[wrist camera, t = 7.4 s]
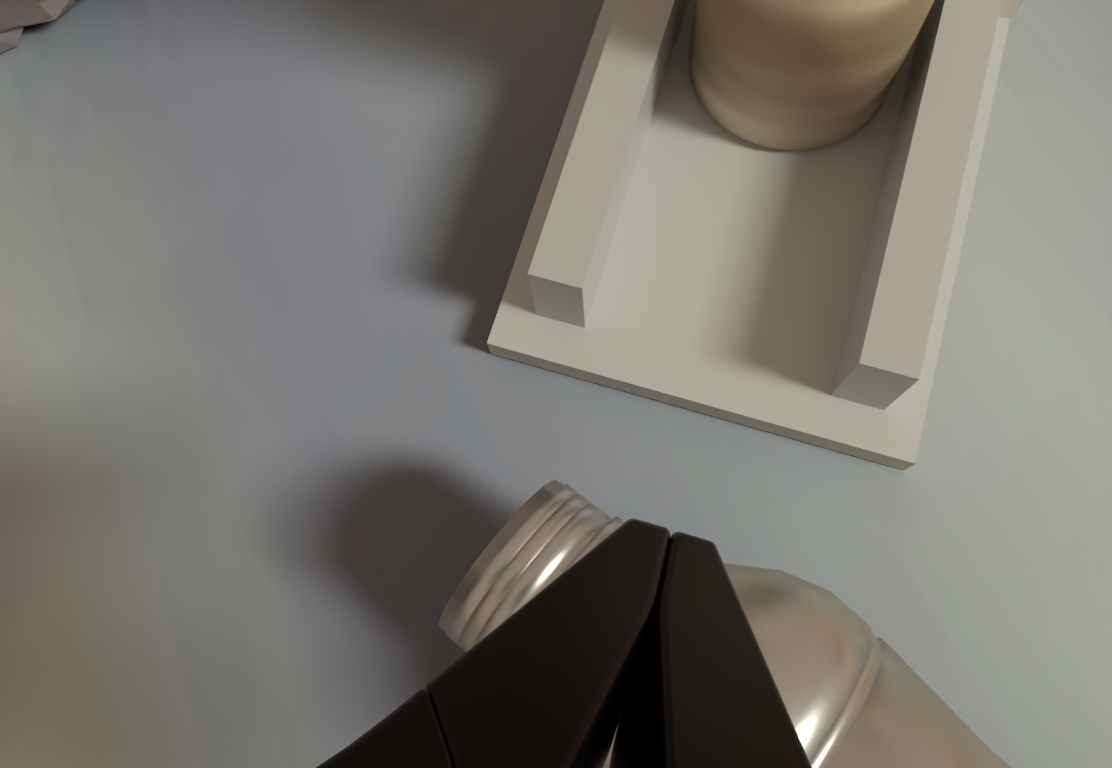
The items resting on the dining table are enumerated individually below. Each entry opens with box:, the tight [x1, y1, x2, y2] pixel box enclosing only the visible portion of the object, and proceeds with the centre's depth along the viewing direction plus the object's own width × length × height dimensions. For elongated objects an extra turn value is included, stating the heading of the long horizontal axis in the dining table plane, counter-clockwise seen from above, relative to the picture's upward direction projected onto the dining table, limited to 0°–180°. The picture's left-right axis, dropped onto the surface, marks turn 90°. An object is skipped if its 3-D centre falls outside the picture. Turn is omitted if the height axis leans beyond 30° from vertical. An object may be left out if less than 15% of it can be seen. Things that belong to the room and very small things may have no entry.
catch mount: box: [487, 0, 1022, 470], centre depth 22 cm, size 17×10×5 cm, turn 163°
